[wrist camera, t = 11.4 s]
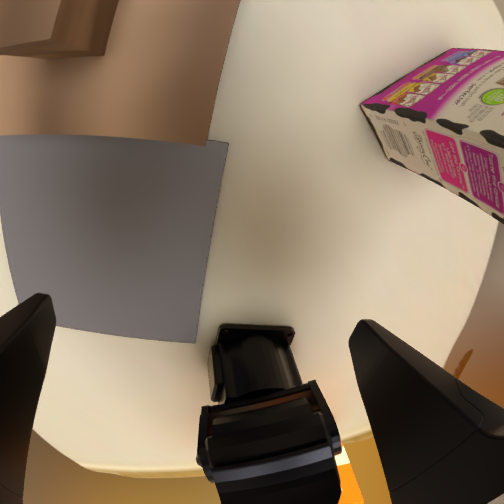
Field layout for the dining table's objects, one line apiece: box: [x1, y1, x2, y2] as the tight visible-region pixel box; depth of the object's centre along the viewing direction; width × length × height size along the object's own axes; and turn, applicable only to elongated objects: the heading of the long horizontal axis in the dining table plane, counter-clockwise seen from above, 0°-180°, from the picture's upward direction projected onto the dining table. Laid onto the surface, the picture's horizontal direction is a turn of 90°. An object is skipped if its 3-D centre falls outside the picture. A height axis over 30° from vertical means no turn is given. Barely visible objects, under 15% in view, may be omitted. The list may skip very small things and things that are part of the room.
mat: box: [0, 134, 229, 344], centre depth 18 cm, size 16×16×1 cm
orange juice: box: [335, 442, 364, 504], centre depth 27 cm, size 8×9×20 cm
